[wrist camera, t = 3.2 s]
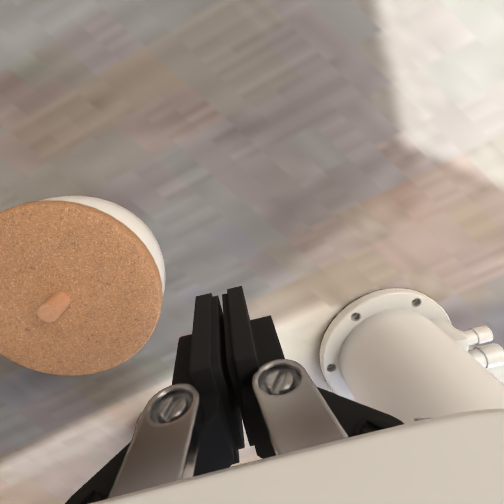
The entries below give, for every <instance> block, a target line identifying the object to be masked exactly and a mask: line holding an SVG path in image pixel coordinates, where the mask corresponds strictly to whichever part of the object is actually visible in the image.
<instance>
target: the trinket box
mask: <svg viewBox="0 0 504 504" xmlns="http://www.w3.org/2000/svg"><path fill="white" fill-rule="evenodd" d="M164 287H165V265H164V261H163V257H162V253H161V249H160V247H159V245H158V242H157V240H156V239H155V237H154V235H153V234H152V232H151V231H150V229H149V228H148V227H147V226H146V225H145V224H144V222H142V221H141V220H140V219H139V218H138V217H137V216H136V215H134V214H133V213H131V212H130V211H128V210H127V209H125V208H124V207H122V206H119V205H117V204H115V203H113V202H110V201H107V200H103V199H100V198H93V197H87V196H62V197H55V198H48V199H44V200H41V201H37V202H30V203H25V204H22V205H19V206H16V207H13V208H9V209H7V210H4V211H2V212H0V354H2V355H3V356H5V357H6V358H8V359H10V360H11V361H13V362H15V363H18V364H20V365H22V366H24V367H27V368H30V369H33V370H36V371H39V372H43V373H49V374H54V375H66V376H74V375H86V374H92V373H98V372H101V371H104V370H107V369H110V368H113V367H115V366H117V365H119V364H121V363H123V362H125V361H126V360H128V359H129V358H131V357H132V356H134V355H135V354H136V353H137V352H138V351H139V350H140V349H141V348H142V347H143V346H144V345H145V343H146V342H147V341H148V339H149V338H150V337H151V335H152V333H153V331H154V329H155V327H156V325H157V322H158V318H159V315H160V312H161V307H162V299H163V294H164Z"/></svg>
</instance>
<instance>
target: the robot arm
mask: <svg viewBox="0 0 504 504" xmlns="http://www.w3.org/2000/svg"><path fill="white" fill-rule="evenodd" d="M222 300H223V312H222V308H221V305H220V301H219V297H218V296H214V297H213V296H212V294H211V293H209V294H205V295H201V296H196V301H195V311H194V322H193V332H192V334H191V335H187V336H182V337H180V338H179V343H178V349H177V355H176V361H175V368H174V374H173V380H172V385H171V386H169V387H166V388H164V389H162V390H161V391H159V392H158V393H157V394H155V395H154V396H153V397H152V398H151V399H150V400H149V402H148V404H147V405H146V407H145V409H144V411H143V414H142V416H141V419H140V421H139V423H138V426H137V428H136V431H135V433H134V436H133V438H132V440H131V442H130V443H129V444H128V445H127V446H126V447H125V448H123V449H122V450H121V451H120V452H119V453H118V454H117V455H116V456H115V457H114V458H113V459H112V460H110V461H109V462H108V463H107V464H106V465H105V466H104V467H103V468H102V469H101V470H100V471H99V472H97V473H96V474H95V475H94V476H93V477H92V478H91V479H90V480H89V481H88V482H87V483H86V484H84V485H83V486H82V487H81V488H80V489H79V490H78V491H77V492H76V493H75V494H74V495H73V496H71V498H70V499H69V500H68V501H67V502H66V503H65V504H504V383H502V382H501V381H500V380H499V379H498V378H497V377H495V376H494V375H493V374H492V373H491V372H490V371H488V370H487V369H488V368H492V367H496V366H500V365H504V350H503V348H502V347H501V346H500V345H498V344H496V343H491V344H487V345H483V346H479V347H474V348H473V349H471V350H469V345H473V344H480V343H485V342H489V341H492V340H493V334H492V332H491V330H490V329H489V328H488V327H487V326H480V327H476V328H472V329H469V330H467V331H461V330H458V329H455V328H454V327H453V326H452V324H451V322H450V319H449V317H448V315H447V314H446V312H445V311H444V310H443V308H442V307H441V306H440V305H438V304H437V303H436V302H435V301H434V300H432V299H431V298H429V297H428V296H426V295H424V294H423V293H420V292H417V291H414V290H411V289H403V288H391V289H384V290H379V291H375V292H372V293H370V294H367V295H365V296H362V297H360V298H359V299H357V300H355V301H354V302H352V303H351V304H349V305H348V306H347V307H346V308H344V309H343V310H342V311H341V312H340V313H339V314H338V315H337V316H336V317H335V319H334V320H333V321H332V322H331V323H330V325H329V327H328V329H327V330H326V332H325V334H324V337H323V340H322V343H321V347H320V355H319V357H320V366H321V369H322V372H323V375H324V377H325V379H326V381H327V383H328V385H329V387H330V388H331V389H332V390H333V391H334V393H335V394H334V393H331V392H329V391H326V390H324V389H321V388H318V387H316V386H315V384H314V383H313V381H312V380H311V378H310V376H309V375H308V373H307V372H306V370H305V369H304V368H303V367H302V366H301V365H300V364H299V363H297V362H295V361H292V360H288V359H285V358H284V355H283V352H282V348H281V345H280V342H279V339H278V336H277V333H276V330H275V327H274V324H273V321H272V318H271V316H266V317H262V318H258V319H254V320H250V318H249V314H248V310H247V306H246V301H245V297H244V293H243V289H242V286H239V287H235V288H231V289H227V294H222ZM223 315H224V316H223ZM242 420H243V423H244V427H245V430H246V434H247V438H248V441H249V445H250V446H253V445H255V449H256V453H257V455H258V456H259V457H261V458H263V459H261V460H257V461H253V462H249V463H245V464H241V465H237V466H233V467H230V466H231V465H232V464H235V463H239V451H238V449H242V448H244V447H245V445H244V435H243V425H242Z"/></svg>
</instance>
